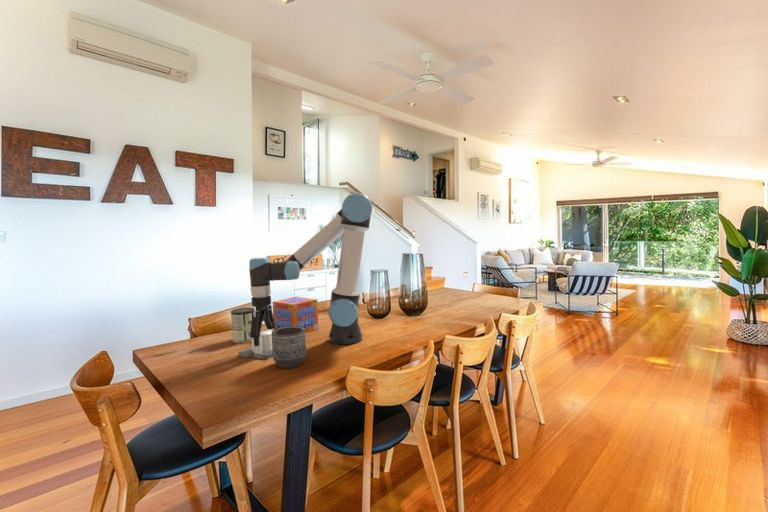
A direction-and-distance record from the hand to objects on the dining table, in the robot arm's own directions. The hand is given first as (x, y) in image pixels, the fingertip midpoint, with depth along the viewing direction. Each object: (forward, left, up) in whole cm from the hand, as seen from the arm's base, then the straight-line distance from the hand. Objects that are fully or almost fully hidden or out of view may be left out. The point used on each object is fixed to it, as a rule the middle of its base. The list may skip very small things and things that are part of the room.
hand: (264, 348), depth 152 cm
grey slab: (+1, 0, -2) cm, 2 cm away
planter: (-18, +8, -2) cm, 20 cm away
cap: (+1, 0, 0) cm, 1 cm away
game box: (+7, -33, -2) cm, 34 cm away
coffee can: (+22, -13, -2) cm, 25 cm away
